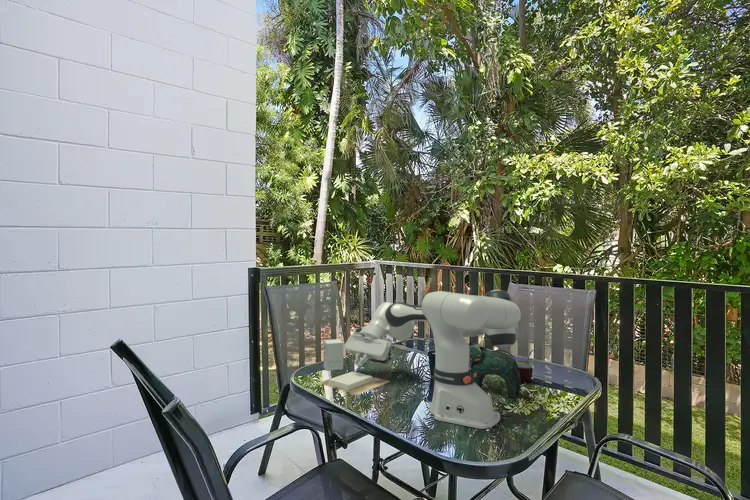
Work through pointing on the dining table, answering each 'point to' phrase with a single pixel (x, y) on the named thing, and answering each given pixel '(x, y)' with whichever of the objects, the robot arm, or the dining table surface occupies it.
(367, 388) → the board
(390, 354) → the brown animal figurine
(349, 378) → the tile
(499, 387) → the dining table surface
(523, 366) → the mate gourd
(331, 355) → the supplement box
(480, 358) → the ceramic cat
